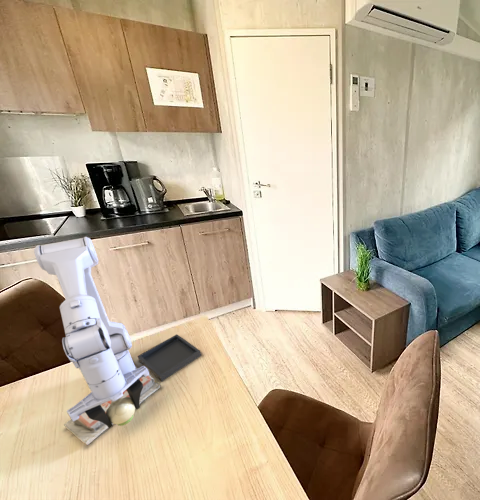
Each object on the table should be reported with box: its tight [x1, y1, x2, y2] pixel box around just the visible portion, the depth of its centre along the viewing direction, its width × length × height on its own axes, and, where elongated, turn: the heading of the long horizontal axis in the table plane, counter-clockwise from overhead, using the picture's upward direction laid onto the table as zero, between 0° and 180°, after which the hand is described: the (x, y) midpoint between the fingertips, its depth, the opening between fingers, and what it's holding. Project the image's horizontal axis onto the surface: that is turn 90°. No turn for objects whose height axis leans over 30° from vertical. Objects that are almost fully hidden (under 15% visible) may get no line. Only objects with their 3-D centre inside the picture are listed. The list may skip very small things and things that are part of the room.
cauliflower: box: [106, 397, 136, 427], centre depth 67 cm, size 5×5×6 cm
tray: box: [137, 334, 202, 382], centre depth 92 cm, size 14×12×2 cm
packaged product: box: [63, 374, 161, 446], centre depth 75 cm, size 18×5×10 cm
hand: (123, 415), depth 67 cm, fingers closed on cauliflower, 5 cm apart
